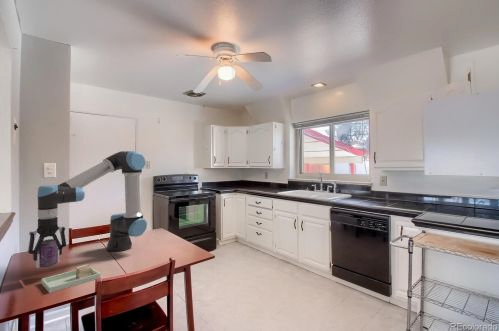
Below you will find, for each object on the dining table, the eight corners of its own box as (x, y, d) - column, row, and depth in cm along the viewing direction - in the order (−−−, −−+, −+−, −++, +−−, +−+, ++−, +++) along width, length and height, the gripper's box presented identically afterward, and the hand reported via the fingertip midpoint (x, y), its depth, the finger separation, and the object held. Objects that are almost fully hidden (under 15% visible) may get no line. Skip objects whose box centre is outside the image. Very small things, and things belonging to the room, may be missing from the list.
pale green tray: (41, 285, 117) (41, 278, 117) (89, 272, 133) (90, 266, 133) (49, 295, 109) (49, 287, 109) (100, 279, 125) (100, 273, 125)
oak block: (75, 277, 124) (76, 267, 124) (87, 274, 128) (87, 264, 128) (79, 280, 121) (79, 270, 121) (91, 277, 125) (91, 267, 125)
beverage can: (45, 262, 127) (45, 238, 127) (60, 262, 128) (60, 238, 128) (34, 268, 120) (34, 243, 120) (50, 268, 121) (50, 243, 120)
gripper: (22, 222, 113) (22, 273, 114) (74, 215, 129) (74, 260, 129) (18, 219, 118) (18, 268, 119) (69, 213, 134) (69, 256, 134)
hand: (47, 264), depth 124 cm, fingers closed on beverage can, 7 cm apart
